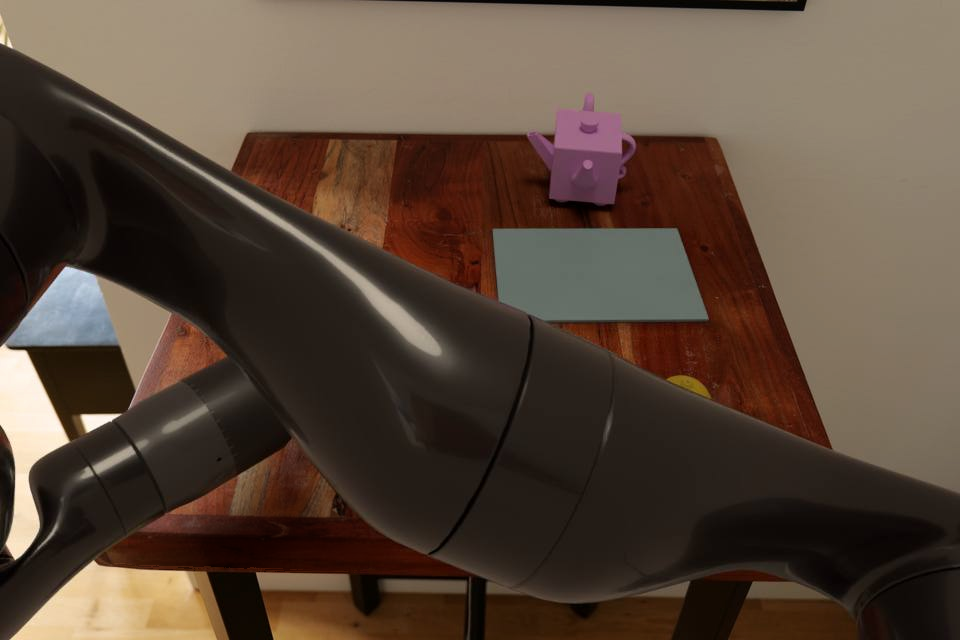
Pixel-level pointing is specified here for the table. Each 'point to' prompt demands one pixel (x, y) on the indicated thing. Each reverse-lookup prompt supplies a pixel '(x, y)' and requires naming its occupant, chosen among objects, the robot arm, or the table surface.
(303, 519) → the table surface
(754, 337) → the table surface
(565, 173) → the teapot
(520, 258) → the cloth mat
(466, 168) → the table surface
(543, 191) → the table surface
